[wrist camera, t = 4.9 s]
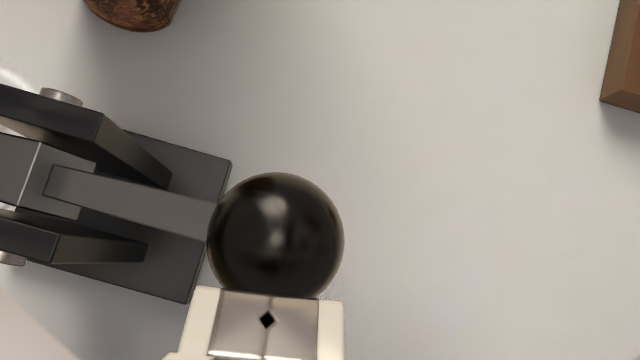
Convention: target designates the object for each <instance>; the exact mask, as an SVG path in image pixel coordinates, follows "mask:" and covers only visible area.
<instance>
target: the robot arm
mask: <svg viewBox="0 0 640 360" xmlns="http://www.w3.org/2000/svg"><path fill="white" fill-rule="evenodd" d="M161 360H345V339H344V304H343V302H342V301H335V300H325V299H317V298H309V297H299V296H288V295H278V294H263V293H256V292H248V291H241V290H233V289H226V288H216V287H208V286H201V285H197V286H196V288H195V290H194V292H193V296H192V300H191V304H190V307H189V311H188V315H187V318H186V322H185V326H184V329H183V333H182V337H181V341H180V344H179V348H178V352H177V353H176V352H169V353H168V354H167V355H166V356H165V357H164V358H163V359H161Z"/></svg>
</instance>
